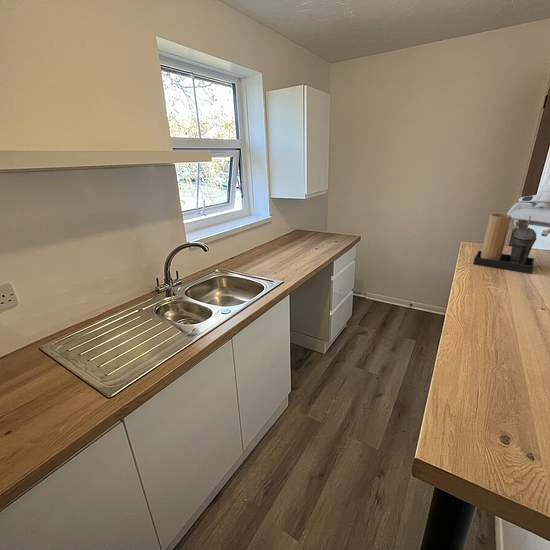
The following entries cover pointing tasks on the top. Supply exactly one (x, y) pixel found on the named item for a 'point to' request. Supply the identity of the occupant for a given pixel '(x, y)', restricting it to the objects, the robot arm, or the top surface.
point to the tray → (505, 263)
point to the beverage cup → (522, 244)
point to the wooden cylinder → (495, 236)
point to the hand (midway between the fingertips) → (528, 233)
